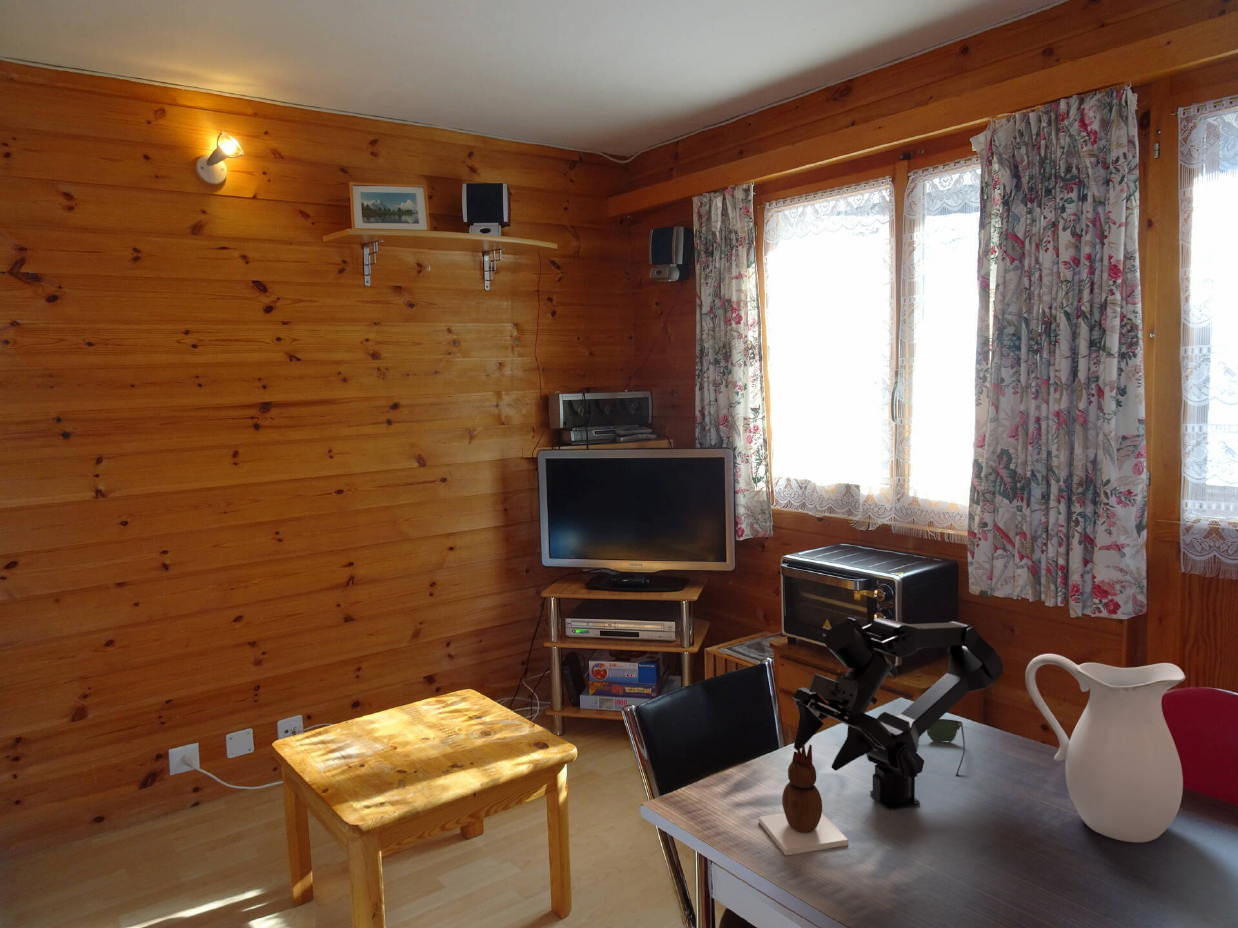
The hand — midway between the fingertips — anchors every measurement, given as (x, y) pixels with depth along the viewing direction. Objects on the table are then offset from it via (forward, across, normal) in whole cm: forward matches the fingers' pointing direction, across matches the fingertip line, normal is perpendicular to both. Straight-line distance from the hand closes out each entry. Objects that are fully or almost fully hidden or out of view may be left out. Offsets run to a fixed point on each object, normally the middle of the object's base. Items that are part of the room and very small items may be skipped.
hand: (814, 758), depth 147 cm
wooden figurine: (+10, 0, +6) cm, 12 cm away
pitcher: (-21, +23, +39) cm, 50 cm away
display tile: (+11, 0, +7) cm, 13 cm away
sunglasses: (-18, -10, +36) cm, 41 cm away
